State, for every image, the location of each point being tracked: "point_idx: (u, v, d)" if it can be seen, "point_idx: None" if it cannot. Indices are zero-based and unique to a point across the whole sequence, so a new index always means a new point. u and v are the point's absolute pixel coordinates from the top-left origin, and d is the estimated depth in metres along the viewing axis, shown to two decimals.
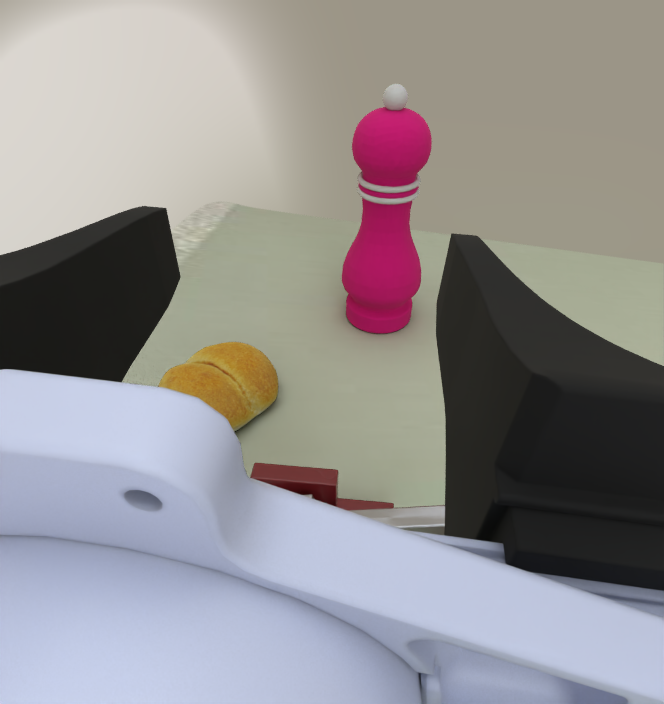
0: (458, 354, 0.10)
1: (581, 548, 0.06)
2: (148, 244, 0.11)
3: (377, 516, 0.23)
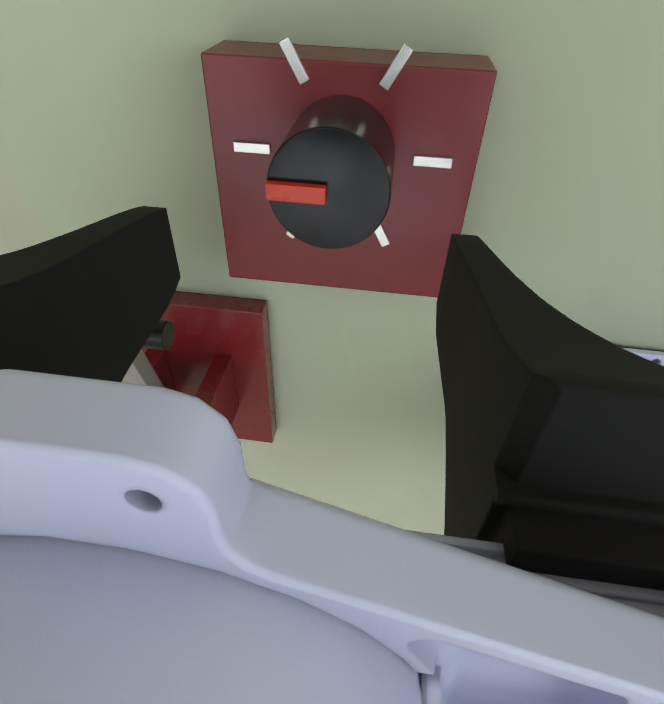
0: (458, 354, 0.10)
1: (581, 548, 0.06)
2: (148, 244, 0.11)
3: None
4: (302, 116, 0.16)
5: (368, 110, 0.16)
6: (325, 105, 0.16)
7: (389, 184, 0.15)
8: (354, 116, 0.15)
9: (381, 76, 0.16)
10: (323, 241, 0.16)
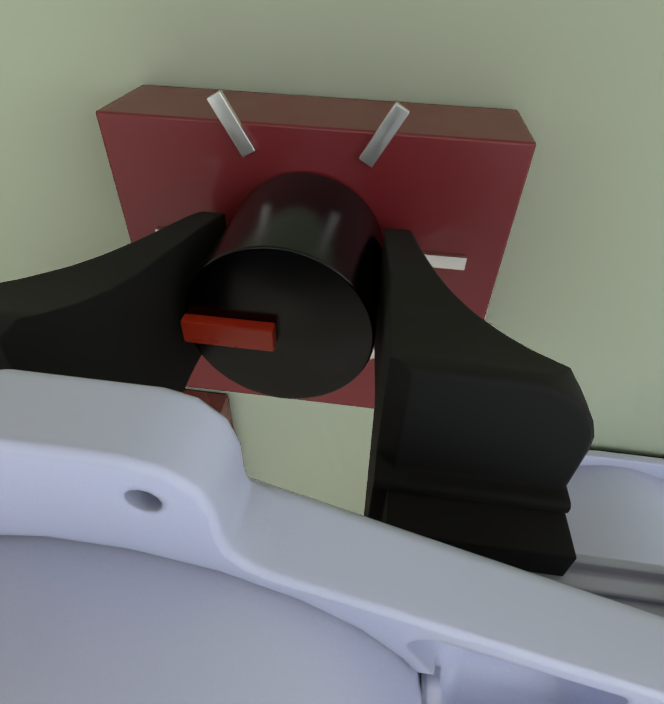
0: (381, 346, 0.10)
1: (449, 530, 0.06)
2: (210, 250, 0.11)
3: None
4: (243, 208, 0.11)
5: (343, 198, 0.11)
6: (277, 193, 0.10)
7: (372, 325, 0.10)
8: (318, 216, 0.10)
9: (362, 147, 0.11)
10: (277, 390, 0.11)
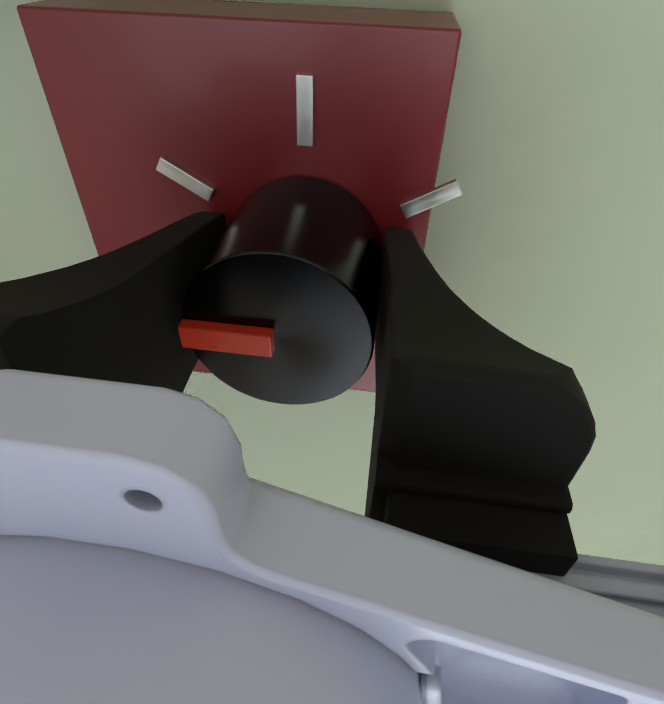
0: (381, 346, 0.10)
1: (451, 530, 0.06)
2: (210, 250, 0.11)
3: None
4: (241, 212, 0.11)
5: (341, 202, 0.11)
6: (275, 197, 0.10)
7: (371, 331, 0.09)
8: (317, 221, 0.10)
9: None
10: (275, 395, 0.11)
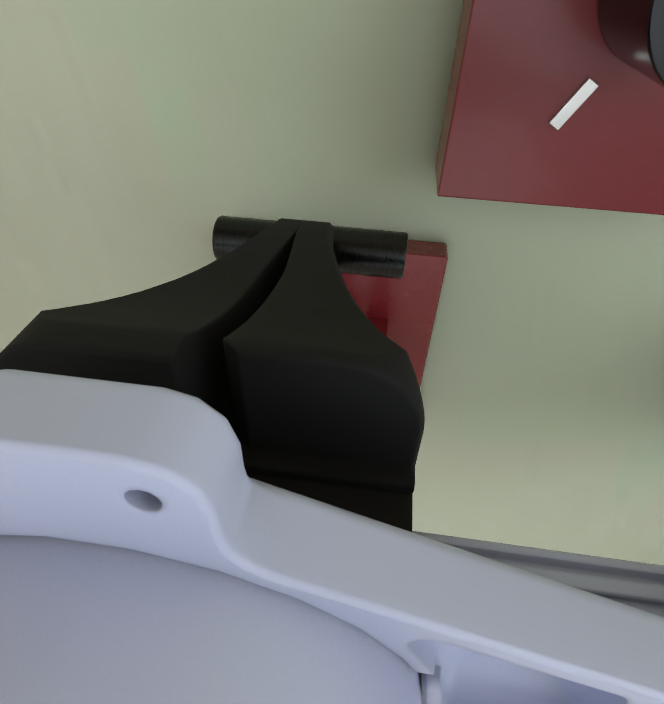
0: None
1: None
2: None
3: None
4: (616, 40, 0.12)
5: None
6: (612, 1, 0.11)
7: None
8: None
9: None
10: None
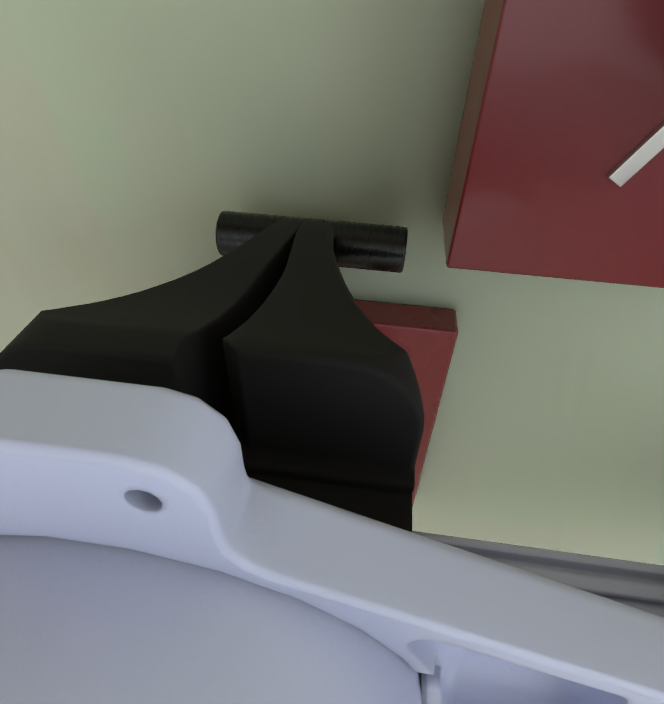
0: None
1: None
2: None
3: None
4: None
5: None
6: None
7: None
8: None
9: None
10: None
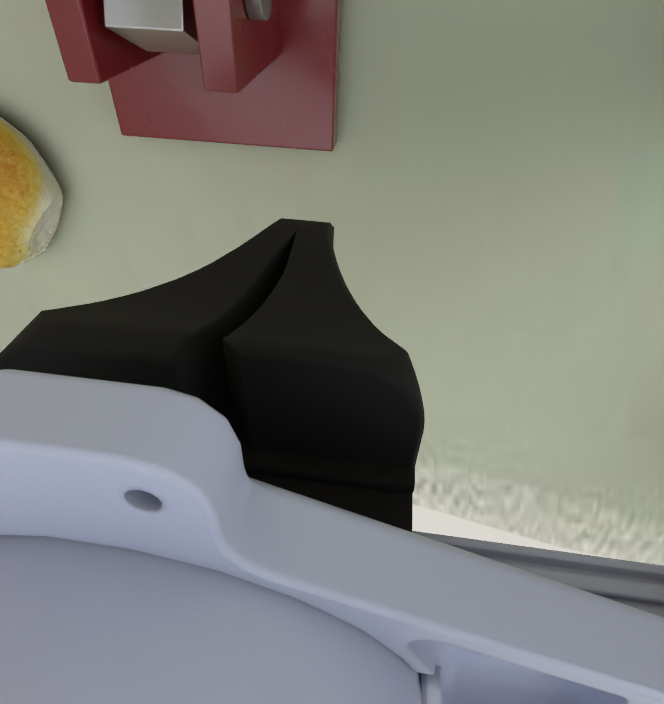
0: None
1: None
2: None
3: None
4: None
5: None
6: None
7: None
8: None
9: None
10: None
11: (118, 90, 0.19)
